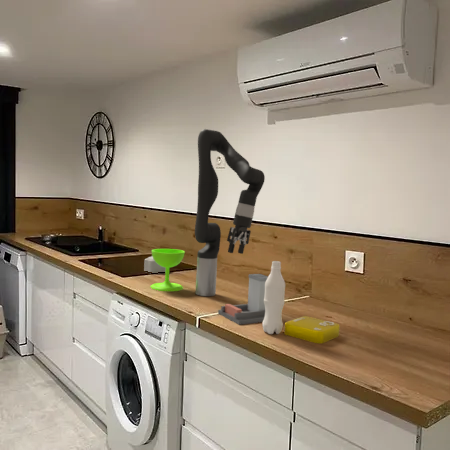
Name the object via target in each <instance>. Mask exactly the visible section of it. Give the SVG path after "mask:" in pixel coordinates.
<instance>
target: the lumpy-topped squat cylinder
mask: <svg viewBox="0 0 450 450" xmlns="http://www.w3.org/2000/svg"><path fill="white" fill-rule="evenodd" d="M143 263H144V265H143V267H144V268H143V271H148V272H152V273H158V272H165V270H166V267H162V266H160V265H159V264H157V263H156V262H155V260H154V259H153V256H152V255H151V256H148V257H147V258H145V259H144V262H143ZM158 274H159V273H158Z"/></svg>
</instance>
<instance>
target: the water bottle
mask: <svg viewBox="0 0 450 450" xmlns="http://www.w3.org/2000/svg"><path fill="white" fill-rule="evenodd" d="M281 265H282V262H281V261H278V260H273V261H271V267H270V273H269V275H268V278H267V280H266V282H265V296H264V304H265V317H264V320H263V322H261V323H262V329H263V332H264V333H267V334H268V335H273V334H274V333H275V334H276V335H280V334H281V333H282V330H283V327H284V324H283V319H282V313H283V309H284V305H285V293H286V291H285V290H286V281H285V279H284V276H283V275H282V271H281V270H282V267H281Z"/></svg>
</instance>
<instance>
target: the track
mask: <svg viewBox="0 0 450 450" xmlns="http://www.w3.org/2000/svg"><path fill="white" fill-rule="evenodd" d="M247 308H248V303H244V304H243V303H242V304H231V303H226V304H224V305H222V306H221V307H220V309H218V310H217V314H218V315H220V316H221V317H223V318H225V319H227V320H230V321H231V322H233V323H234V324H237V325H239V326H240V325H248V324H257V323H258V322H259V323H263V320H264V317H265V310H260V311H249V310H247Z"/></svg>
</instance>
